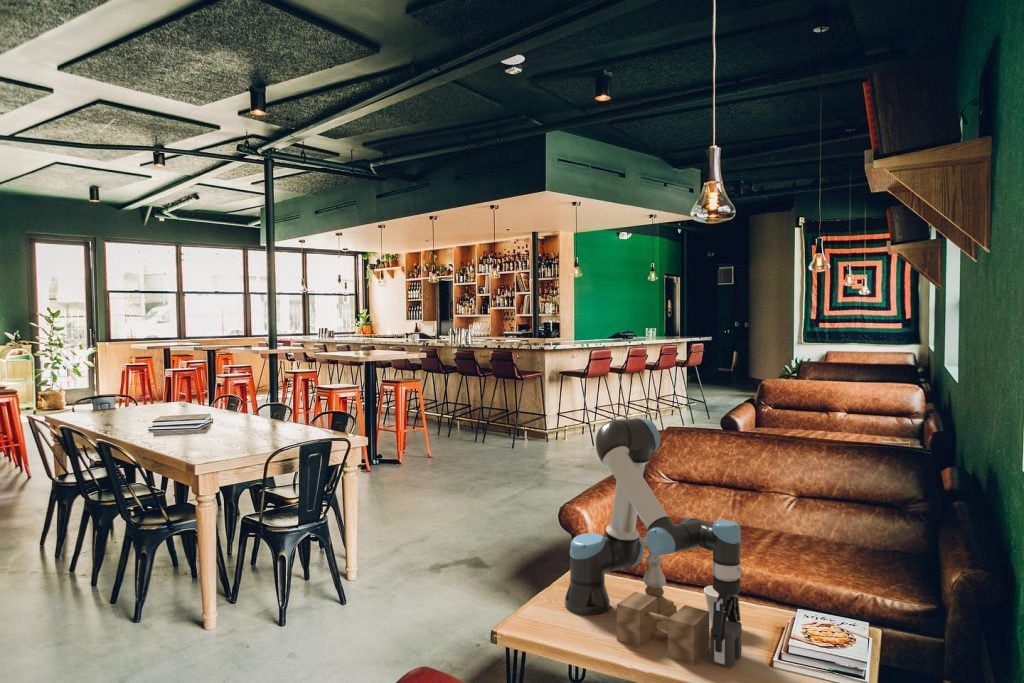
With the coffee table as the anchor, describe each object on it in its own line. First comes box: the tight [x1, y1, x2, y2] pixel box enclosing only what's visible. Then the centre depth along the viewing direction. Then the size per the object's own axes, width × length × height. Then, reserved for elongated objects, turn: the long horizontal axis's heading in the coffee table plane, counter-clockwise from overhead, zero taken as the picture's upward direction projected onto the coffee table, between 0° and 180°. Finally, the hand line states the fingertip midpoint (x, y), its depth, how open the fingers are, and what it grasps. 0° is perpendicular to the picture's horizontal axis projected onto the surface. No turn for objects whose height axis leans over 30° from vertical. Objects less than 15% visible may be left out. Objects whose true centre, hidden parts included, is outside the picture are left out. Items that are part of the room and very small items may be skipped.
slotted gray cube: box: [709, 620, 743, 669], centre depth 183 cm, size 6×8×9 cm
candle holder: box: [639, 535, 678, 622], centre depth 215 cm, size 11×11×24 cm
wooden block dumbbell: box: [616, 591, 710, 666], centre depth 191 cm, size 24×12×11 cm, turn 52°
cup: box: [703, 585, 728, 627], centre depth 204 cm, size 10×10×11 cm
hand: (726, 655), depth 183 cm, fingers open, 10 cm apart
